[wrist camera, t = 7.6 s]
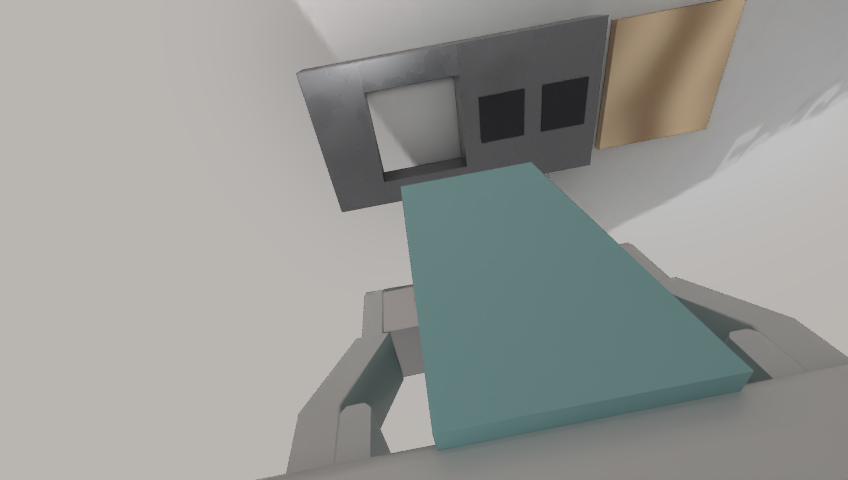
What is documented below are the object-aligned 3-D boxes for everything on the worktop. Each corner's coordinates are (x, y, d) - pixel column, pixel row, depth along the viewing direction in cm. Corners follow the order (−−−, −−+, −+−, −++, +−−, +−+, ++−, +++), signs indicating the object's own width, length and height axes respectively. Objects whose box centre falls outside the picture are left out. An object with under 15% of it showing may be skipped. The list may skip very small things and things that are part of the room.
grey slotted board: (591, 15, 23) (609, 15, 21) (577, 156, 28) (590, 165, 27) (302, 69, 23) (295, 73, 21) (344, 200, 28) (341, 212, 26)
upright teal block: (530, 161, 11) (753, 370, 5) (528, 265, 14) (670, 498, 7) (400, 186, 11) (432, 433, 4) (421, 285, 14) (461, 540, 7)
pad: (739, -4, 23) (747, -5, 23) (700, 127, 28) (705, 129, 28) (612, 20, 23) (617, 20, 23) (595, 147, 28) (599, 149, 28)
